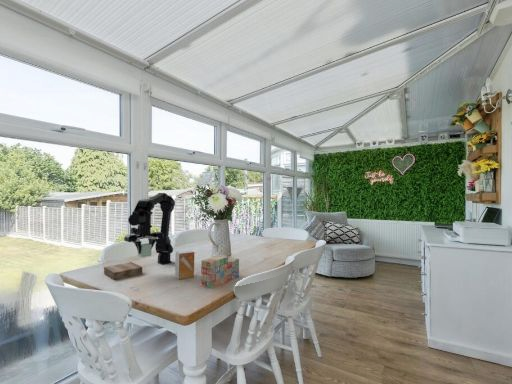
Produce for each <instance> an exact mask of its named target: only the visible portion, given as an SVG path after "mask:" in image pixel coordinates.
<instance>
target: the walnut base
mask: <svg viewBox="0 0 512 384" xmlns="http://www.w3.org/2000/svg"><path fill="white" fill-rule="evenodd" d="M103 274H104V275H105V276H107V277H109V278H110V279H111V280H113V281H115V280H119V279H124V278H129V277H134V276H138V275H142V274H143V266H142V265H139V264H137V263H134V262H132V261H130V262H123V263H119V264H112V265H107V266H103Z"/></svg>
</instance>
